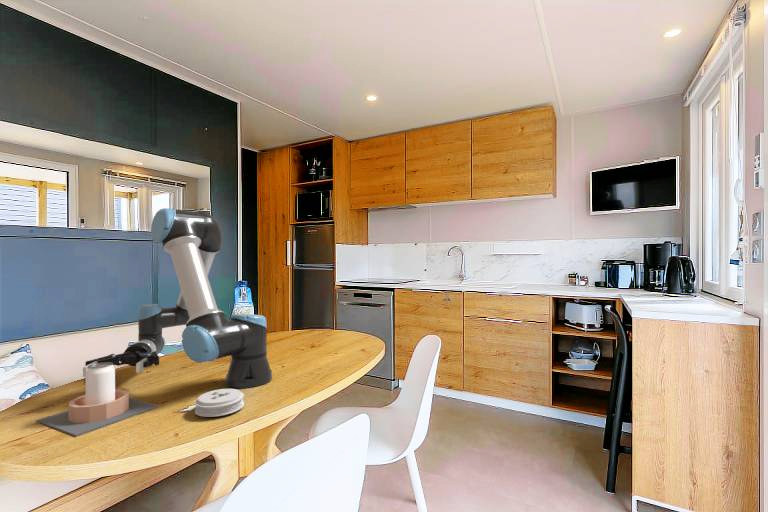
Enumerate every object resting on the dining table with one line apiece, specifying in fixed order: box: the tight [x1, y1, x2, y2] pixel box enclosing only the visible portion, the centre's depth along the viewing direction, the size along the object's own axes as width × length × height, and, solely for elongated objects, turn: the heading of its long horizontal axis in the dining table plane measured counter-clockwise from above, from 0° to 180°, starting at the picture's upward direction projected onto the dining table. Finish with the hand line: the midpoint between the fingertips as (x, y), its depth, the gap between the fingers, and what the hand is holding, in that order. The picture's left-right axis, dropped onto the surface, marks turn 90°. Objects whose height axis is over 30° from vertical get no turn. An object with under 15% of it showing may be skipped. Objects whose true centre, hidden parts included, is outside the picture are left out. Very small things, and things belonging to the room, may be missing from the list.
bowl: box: [67, 389, 130, 423], centre depth 103 cm, size 13×13×4 cm
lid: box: [194, 388, 245, 418], centre depth 104 cm, size 13×13×5 cm
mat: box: [35, 397, 160, 437], centre depth 103 cm, size 20×20×1 cm
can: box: [85, 362, 116, 406], centre depth 103 cm, size 6×6×12 cm
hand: (111, 370), depth 109 cm, fingers open, 13 cm apart
